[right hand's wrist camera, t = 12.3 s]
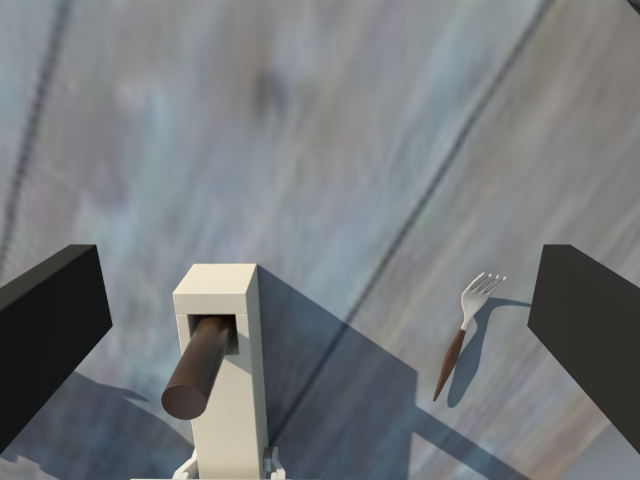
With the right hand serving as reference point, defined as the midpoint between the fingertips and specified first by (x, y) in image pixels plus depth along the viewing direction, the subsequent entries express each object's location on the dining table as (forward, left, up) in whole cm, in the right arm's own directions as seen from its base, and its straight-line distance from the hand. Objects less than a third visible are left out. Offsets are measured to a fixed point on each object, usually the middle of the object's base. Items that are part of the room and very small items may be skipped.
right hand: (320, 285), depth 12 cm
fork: (-14, +18, -25) cm, 34 cm away
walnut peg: (+9, +14, -25) cm, 30 cm away
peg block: (+9, +22, -25) cm, 34 cm away
